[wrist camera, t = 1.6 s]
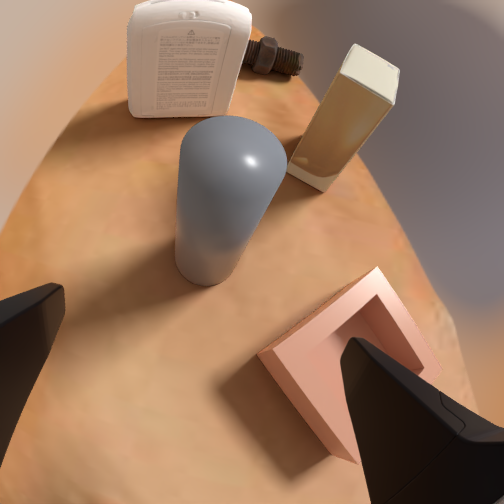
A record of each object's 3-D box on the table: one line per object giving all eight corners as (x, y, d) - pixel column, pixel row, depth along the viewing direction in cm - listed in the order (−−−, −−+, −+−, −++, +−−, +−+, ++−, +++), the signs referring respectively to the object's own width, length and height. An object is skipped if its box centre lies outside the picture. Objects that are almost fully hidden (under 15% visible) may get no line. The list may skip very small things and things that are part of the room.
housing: (331, 454, 20) (358, 464, 17) (256, 354, 22) (272, 348, 18) (411, 373, 24) (443, 369, 20) (351, 282, 26) (377, 266, 22)
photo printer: (227, 92, 31) (253, -7, 20) (232, 119, 30) (264, 13, 19) (129, 95, 28) (129, -10, 17) (127, 123, 27) (122, 9, 16)
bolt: (290, 90, 37) (172, 66, 34) (295, 58, 36) (182, 34, 33) (306, 74, 31) (171, 44, 28) (311, 39, 31) (183, 10, 27)
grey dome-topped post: (196, 297, 23) (218, 218, 12) (163, 245, 23) (161, 135, 13) (247, 266, 24) (307, 174, 14) (214, 218, 25) (248, 105, 14)
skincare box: (303, 133, 31) (354, 40, 20) (340, 153, 32) (401, 67, 21) (282, 173, 29) (338, 69, 18) (324, 196, 29) (396, 103, 18)
